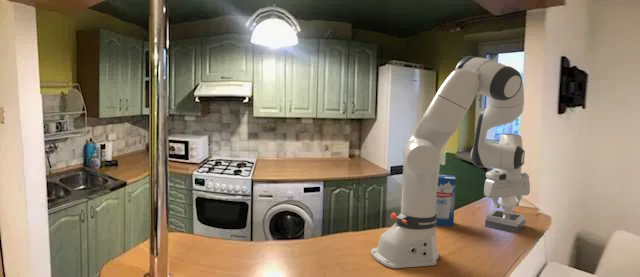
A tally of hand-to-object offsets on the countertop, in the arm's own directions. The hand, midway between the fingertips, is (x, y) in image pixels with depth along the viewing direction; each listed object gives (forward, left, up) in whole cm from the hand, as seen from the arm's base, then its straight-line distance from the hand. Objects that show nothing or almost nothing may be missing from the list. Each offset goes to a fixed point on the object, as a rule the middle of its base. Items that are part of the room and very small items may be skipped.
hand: (506, 206), depth 153 cm
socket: (0, 0, -8) cm, 8 cm away
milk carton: (-23, +12, -8) cm, 27 cm away
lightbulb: (+1, 0, -6) cm, 6 cm away
